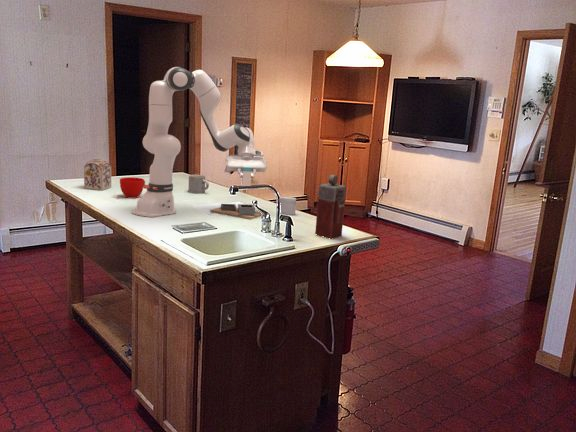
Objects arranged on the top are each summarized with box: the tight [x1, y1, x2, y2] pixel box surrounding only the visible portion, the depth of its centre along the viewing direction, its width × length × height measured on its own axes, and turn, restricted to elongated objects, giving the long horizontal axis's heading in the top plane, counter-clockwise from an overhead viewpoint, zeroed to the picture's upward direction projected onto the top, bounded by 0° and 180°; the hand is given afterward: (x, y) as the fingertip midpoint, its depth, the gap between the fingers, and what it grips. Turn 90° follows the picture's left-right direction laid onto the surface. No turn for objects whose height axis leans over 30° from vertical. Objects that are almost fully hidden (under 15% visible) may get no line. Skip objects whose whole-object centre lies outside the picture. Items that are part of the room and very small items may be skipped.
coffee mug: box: [188, 174, 210, 195], centre depth 319 cm, size 13×10×10 cm
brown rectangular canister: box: [314, 174, 347, 240], centre depth 237 cm, size 9×11×28 cm
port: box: [237, 203, 256, 216], centre depth 268 cm, size 8×8×4 cm
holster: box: [220, 203, 237, 211], centre depth 276 cm, size 8×8×2 cm
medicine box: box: [279, 196, 297, 216], centre depth 278 cm, size 8×4×9 cm, turn 74°
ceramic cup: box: [119, 176, 146, 199], centre depth 295 cm, size 13×17×10 cm
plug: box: [241, 166, 252, 187], centre depth 265 cm, size 4×4×11 cm
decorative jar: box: [83, 157, 112, 191], centre depth 310 cm, size 12×12×18 cm
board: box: [209, 206, 262, 220], centre depth 272 cm, size 14×24×1 cm, turn 63°
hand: (246, 177), depth 265 cm, fingers closed on plug, 4 cm apart
